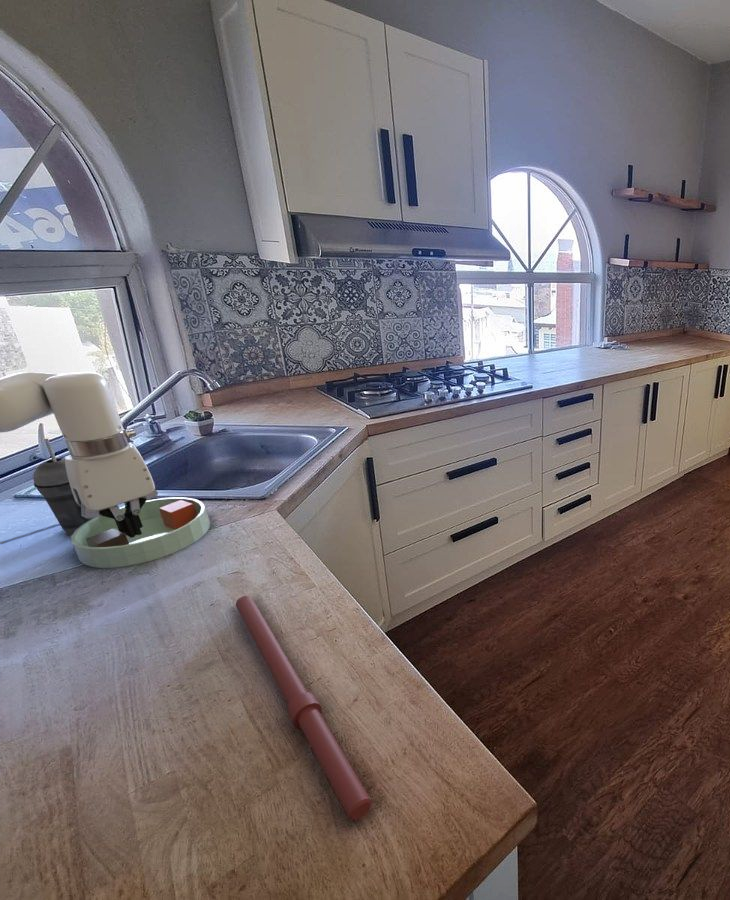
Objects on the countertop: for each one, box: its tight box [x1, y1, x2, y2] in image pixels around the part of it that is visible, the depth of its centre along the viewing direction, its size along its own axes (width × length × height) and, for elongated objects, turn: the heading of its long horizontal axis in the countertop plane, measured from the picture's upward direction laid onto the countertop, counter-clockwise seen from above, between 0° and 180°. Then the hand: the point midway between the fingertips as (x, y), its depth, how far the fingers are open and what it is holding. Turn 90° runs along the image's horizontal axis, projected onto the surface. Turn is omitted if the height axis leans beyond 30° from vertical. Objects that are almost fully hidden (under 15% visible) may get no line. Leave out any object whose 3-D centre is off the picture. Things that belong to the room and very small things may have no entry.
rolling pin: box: [235, 595, 373, 821], centre depth 65 cm, size 45×3×3 cm, turn 46°
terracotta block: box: [159, 500, 197, 530], centre depth 101 cm, size 4×4×4 cm
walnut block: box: [86, 529, 129, 547], centre depth 91 cm, size 4×4×4 cm
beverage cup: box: [32, 438, 93, 536], centre depth 96 cm, size 7×7×20 cm
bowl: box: [70, 496, 211, 569], centre depth 96 cm, size 19×19×4 cm
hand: (133, 533), depth 94 cm, fingers closed
